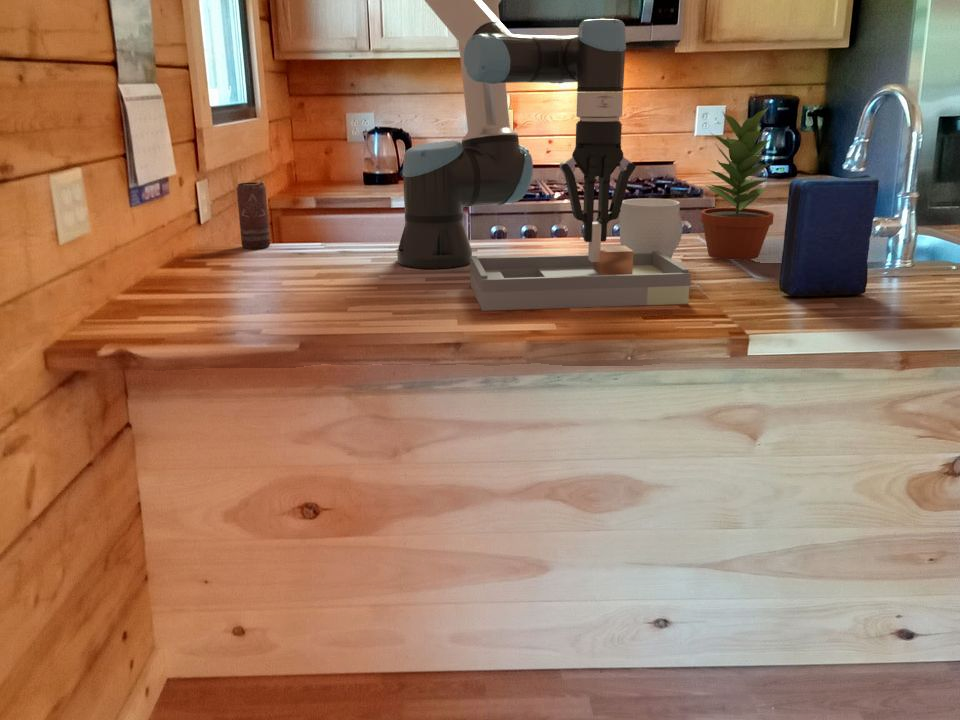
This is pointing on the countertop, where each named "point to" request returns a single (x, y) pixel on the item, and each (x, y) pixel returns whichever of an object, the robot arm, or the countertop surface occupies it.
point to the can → (253, 215)
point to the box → (566, 282)
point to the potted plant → (738, 197)
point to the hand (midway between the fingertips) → (594, 260)
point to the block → (615, 260)
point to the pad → (662, 289)
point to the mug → (650, 225)
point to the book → (828, 236)
